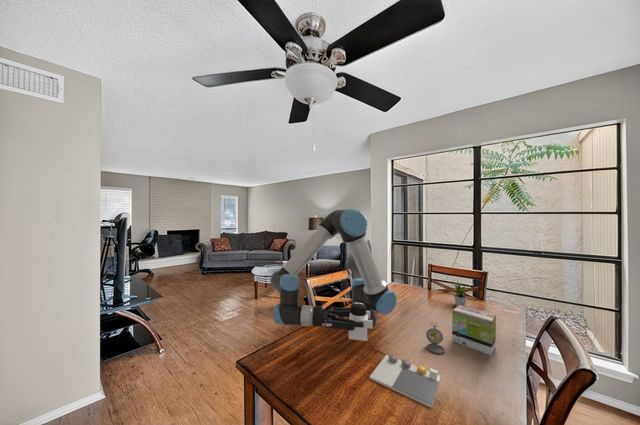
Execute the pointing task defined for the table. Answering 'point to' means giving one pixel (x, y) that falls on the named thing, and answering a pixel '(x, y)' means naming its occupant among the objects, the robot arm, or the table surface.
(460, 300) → the house plant
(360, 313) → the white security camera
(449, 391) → the table surface
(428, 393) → the board
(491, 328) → the tea box
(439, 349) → the pocket watch
